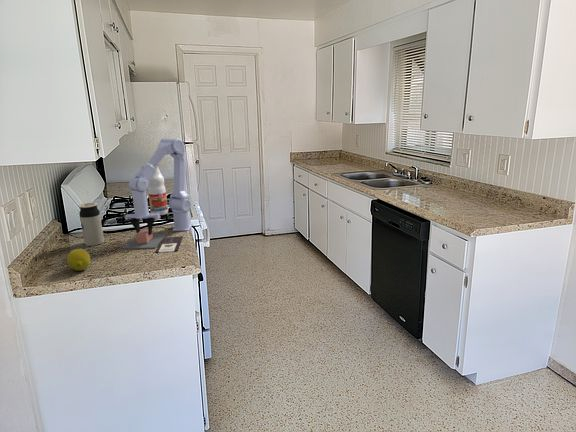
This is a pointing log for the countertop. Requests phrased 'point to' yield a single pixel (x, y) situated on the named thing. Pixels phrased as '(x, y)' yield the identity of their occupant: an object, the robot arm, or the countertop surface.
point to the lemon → (78, 259)
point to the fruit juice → (157, 193)
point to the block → (143, 237)
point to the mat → (150, 245)
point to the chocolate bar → (169, 244)
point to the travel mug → (91, 224)
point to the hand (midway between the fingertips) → (144, 234)
